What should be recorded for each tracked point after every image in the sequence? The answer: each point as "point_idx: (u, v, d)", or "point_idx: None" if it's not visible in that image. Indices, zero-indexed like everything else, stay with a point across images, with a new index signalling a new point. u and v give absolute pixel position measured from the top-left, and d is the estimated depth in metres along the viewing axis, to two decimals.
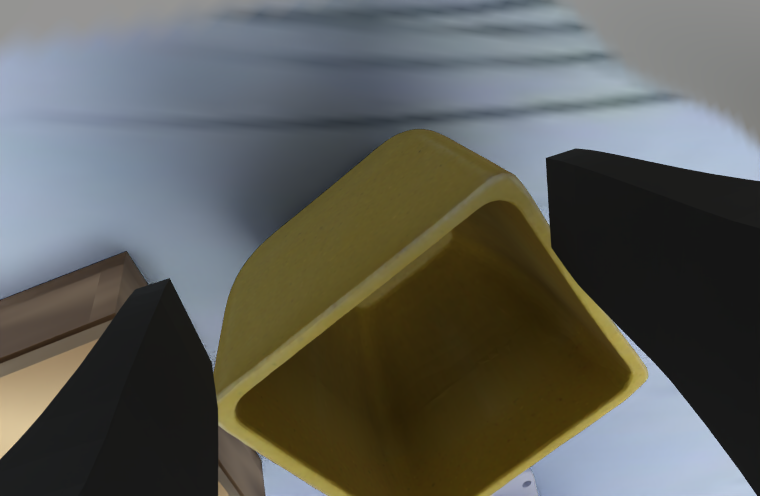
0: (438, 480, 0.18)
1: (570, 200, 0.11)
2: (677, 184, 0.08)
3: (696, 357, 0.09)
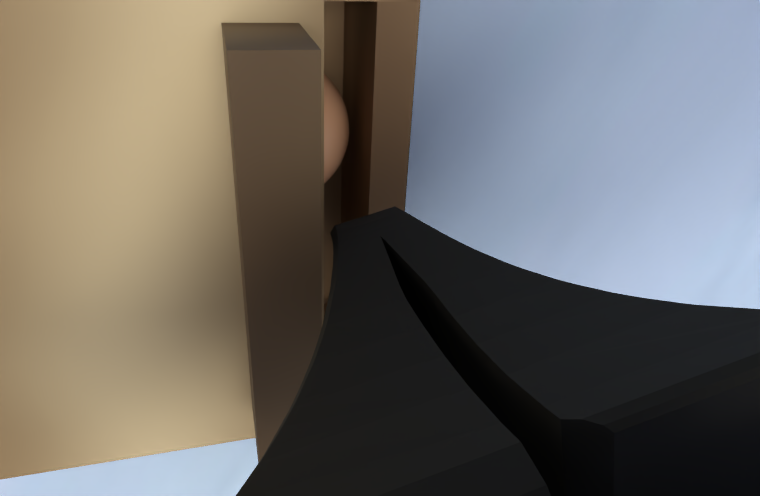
0: None
1: None
2: (442, 262, 0.08)
3: None
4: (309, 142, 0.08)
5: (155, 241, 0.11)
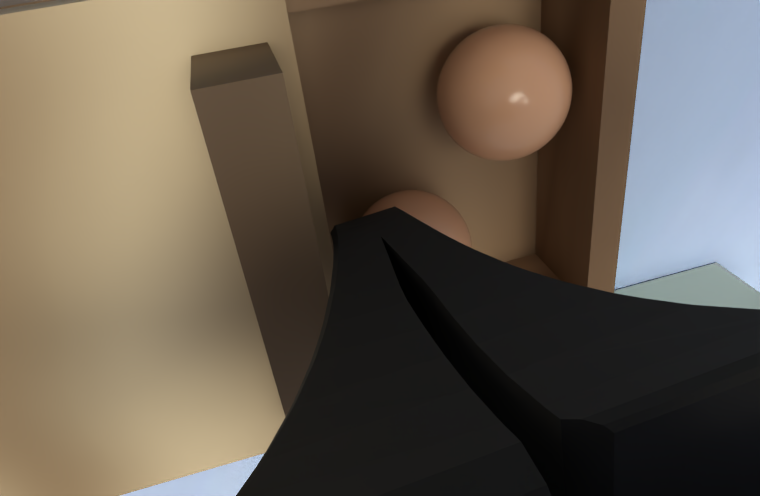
0: None
1: None
2: (442, 263, 0.08)
3: None
4: (289, 163, 0.08)
5: (169, 273, 0.11)
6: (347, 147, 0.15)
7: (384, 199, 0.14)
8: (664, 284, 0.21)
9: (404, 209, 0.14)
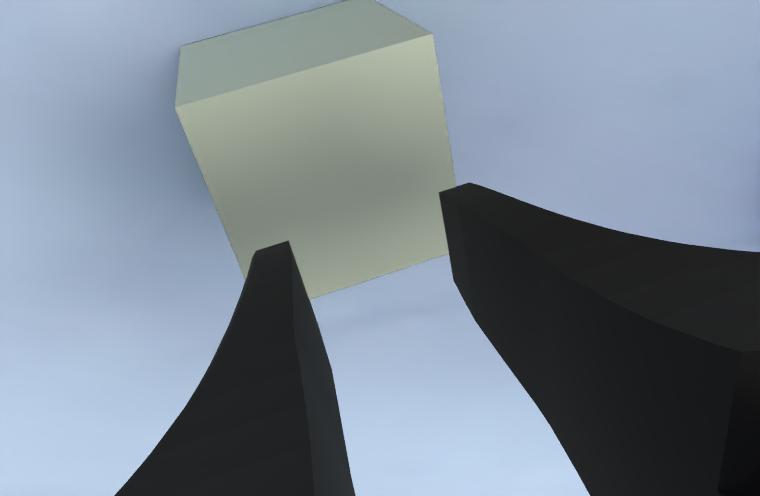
0: None
1: (459, 237, 0.10)
2: (539, 230, 0.08)
3: (563, 407, 0.08)
4: None
5: None
6: None
7: None
8: None
9: None
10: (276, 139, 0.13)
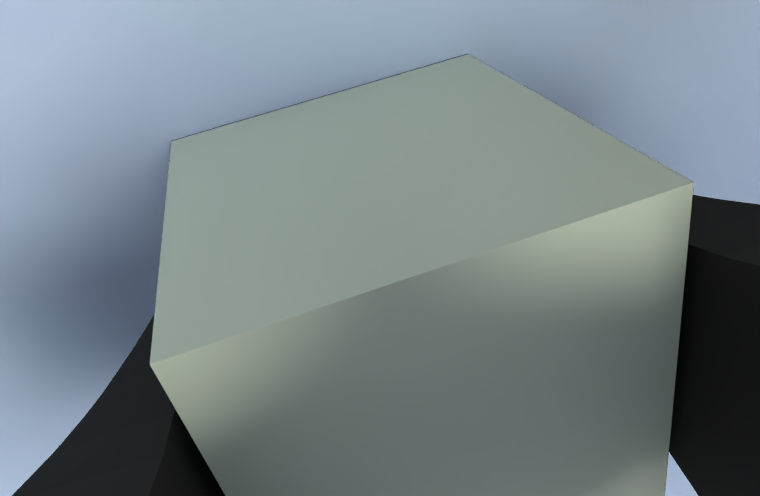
0: None
1: None
2: None
3: None
4: None
5: None
6: None
7: None
8: None
9: None
10: (361, 394, 0.06)
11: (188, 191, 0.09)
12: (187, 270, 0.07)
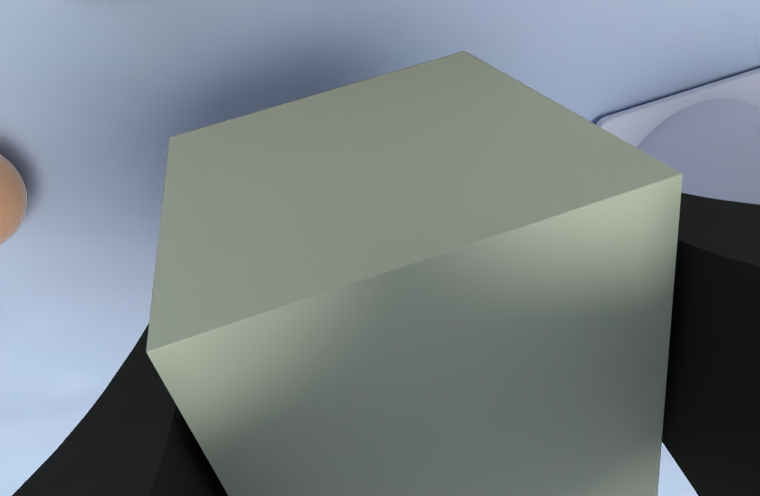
0: None
1: None
2: None
3: None
4: None
5: None
6: None
7: None
8: None
9: None
10: (354, 383, 0.06)
11: (186, 185, 0.09)
12: (184, 261, 0.07)
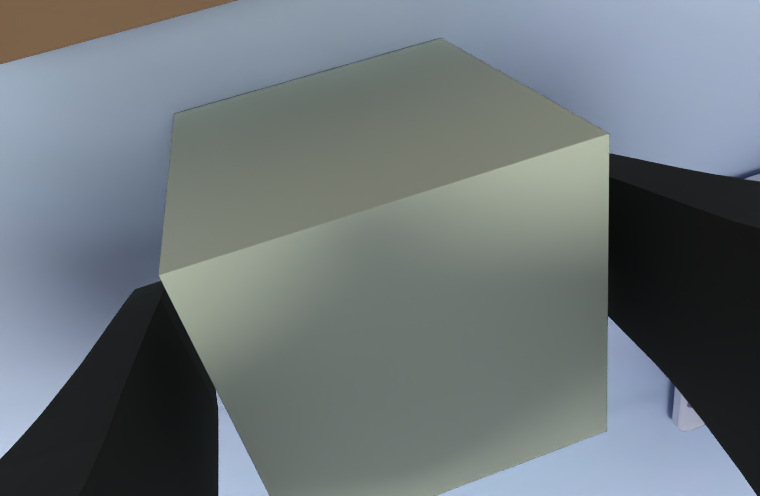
0: None
1: None
2: (677, 184, 0.08)
3: (696, 357, 0.09)
4: None
5: None
6: None
7: None
8: None
9: None
10: (333, 311, 0.08)
11: (189, 152, 0.10)
12: (189, 210, 0.08)
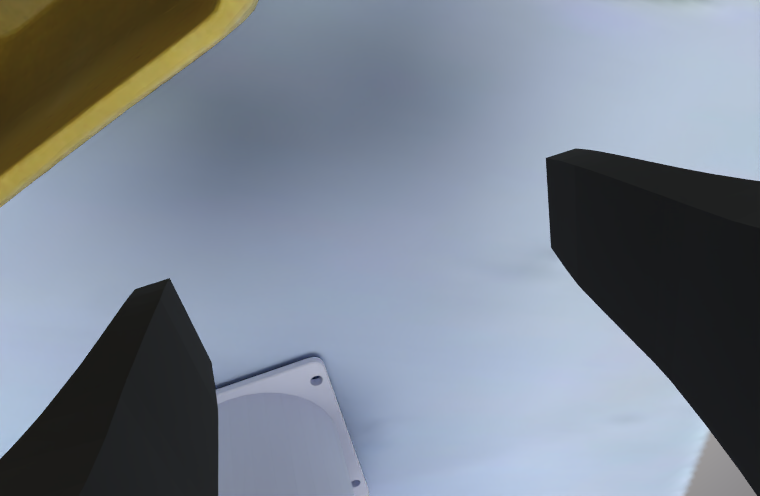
0: None
1: (570, 200, 0.11)
2: (677, 184, 0.08)
3: (696, 357, 0.09)
4: None
5: None
6: None
7: None
8: None
9: None
10: None
11: None
12: None
